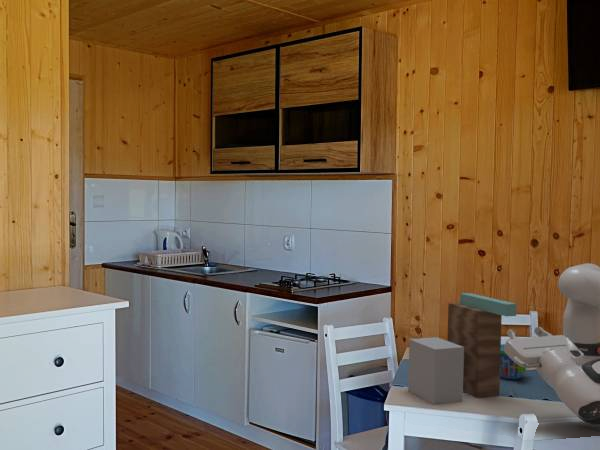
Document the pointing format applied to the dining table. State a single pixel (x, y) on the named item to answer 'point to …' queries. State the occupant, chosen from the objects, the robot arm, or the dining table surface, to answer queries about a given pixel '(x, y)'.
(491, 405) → the dining table surface
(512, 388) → the dining table surface
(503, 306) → the batten
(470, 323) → the walnut stand
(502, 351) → the snack cup
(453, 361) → the base block
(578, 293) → the robot arm
